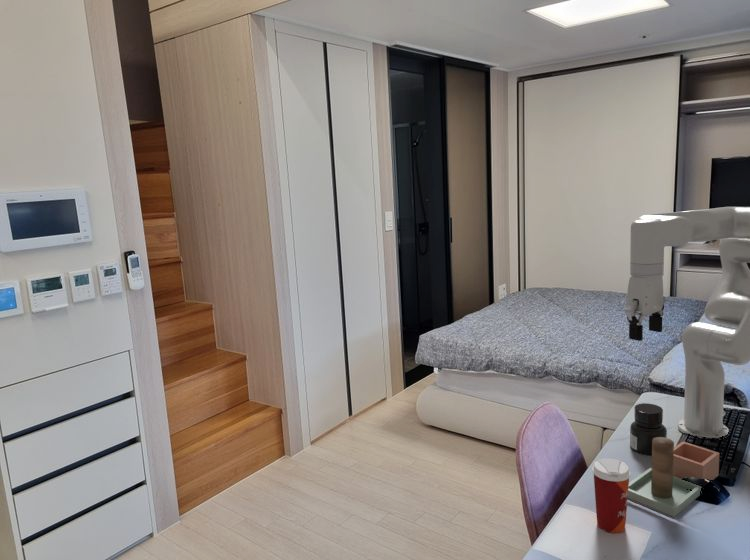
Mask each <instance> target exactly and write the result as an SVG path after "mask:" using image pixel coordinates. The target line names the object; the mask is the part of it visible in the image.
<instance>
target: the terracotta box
mask: <svg viewBox="0 0 750 560" xmlns="http://www.w3.org/2000/svg"><path fill="white" fill-rule="evenodd" d="M719 472H720V452H718V451H714V450H713V449H712V450H711V449H708V448H705V447H703V446H698V445H696V444H692V443H689V442H686V441H681V442H680V443H678V444H676V445H674V457H673V476H674V477H677V478H680V479H683V478H685V477H694V478H701V479H709V480H713V481H714V480H715V479H716V478H718V476H719V475H720V474H719Z"/></svg>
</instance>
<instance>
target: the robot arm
mask: <svg viewBox="0 0 750 560" xmlns="http://www.w3.org/2000/svg"><path fill="white" fill-rule="evenodd" d="M716 240H720V241H719V243H718V244H719V245H718V250H719V256H720V263H721V271H722V272H721V276H720V279H719V281H718V283H717V285H716V287H715V288H714V290H713V291H712V293H711V295H710V296H709V299H708V301H707V302H706V304H705V307H704V316H705V318H706V320H708V321H710V322H707V321H706V322H705V321H704V322H703V321H696V322H695V321H694V322H692V323H690V324H688V325H687V326H685V328H684V330H683V331H682V335H681V337H682V339H681V341H682V348H683V352H684V362H685V365H684V366H685V375H684V403H683V405H684V407H683V408H684V409H683V410H684V412H683V416H684V417H683V418H682V419H681V420H679V421H678V422H677V429H678V430H679V432H681V433H682V434H684V433H687V434H690V435H693V436H697V437H706V438H719V437H722V436H725V435H727V434H728V432H729V433H730V429H729V428H728V427H727V426H726V425H725V424H724V423H723V420H724V416H725V415H726V411H725V410H724V397H725V379H726V378H725V376H726V375H725V371H724V367H723V365H722V363H727V364H730V365H735V366H743V365H746V364H748V363H750V268H749V265H748V264H750V206H724V207H723V206H722V207H715V208H706V209H695V210H694V209H693V210H685V211H675V212H674V211H673V212H661V213H660V212H659V213H652V214H644V215H641V216H639V217H638V218H637V219H636V220H634V221H633V222H632V223H631V225H630V249H629V250H630V252H629V253H630V256H629V257H630V258H629V259H630V260H629V261H630V263H629V265H630V266H629V267H630V268H629V270H630V272H629V275H630V276H629V280H628V284H627V285H628V286H627V294H626V309H625V314H626V319H627V323H628V338H629V339H630V340H633V341H639V342H641V341H643V337H644V336H643V335H644V334H643V331H644V330H643V328H644V325H642V323H643V320H644V317H647V316H648V330H649V331H650V332H657V333H662V332H663V317H664V309H665V302H666V297H665V295H664V282H663V276H664V274H665V273H664V270H665V269H664V266H665V264H664V263H665V262H664V261H665V260H664V259H665V247H682V246H684V245H686V244H688V243H704V242H705V243H706V242H710V241H716ZM637 317H638V318H637ZM721 362H722V363H721ZM728 435H729V434H728Z"/></svg>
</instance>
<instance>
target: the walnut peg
mask: <svg viewBox="0 0 750 560" xmlns="http://www.w3.org/2000/svg"><path fill="white" fill-rule="evenodd" d="M674 447H675V442H674V441H673V440H672V439H671V438H668V437H667V438H664V437H656V438H653V440H652V456H651V468H652V477H651V493H652V494H653V495H654V496H656V497H658V498H663V499H667V498H671V497H672V489H673V457H674Z"/></svg>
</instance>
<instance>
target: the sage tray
mask: <svg viewBox="0 0 750 560" xmlns="http://www.w3.org/2000/svg"><path fill="white" fill-rule="evenodd" d="M651 477H652V467H649V468H647V469H646V470H645V471H644V472H642V473H640V474H639V475H638V476H636V477H635V478H633V479H632V480H631V481H629V486H628V499H627V501H630V502H632V503H635V504H637V505H639V506H642V507H644V508H647V509H650V510H652V511H654V512H656V513H659V514H660V515H663V516H666V517H668V518H670V519H672V520H675V517H676V516H677V515H678V514H680V513H681V512H682V511H683V510H684V509H686V508H687V507H688V506H689V505H690V504H691V503H693V502H694V501H695V500H696V499H698V498H699V497H700V496H701V495H700V491H701V488H702V487H701V486H699V485H696V484H693V483H691V482H688V481H685V480H682V479H680V478H677V477H674V476H673V489H672V497H671V498H667V499H663V498H658V497H656V496H654V495H653V494H652V493H651ZM687 489H688V490H687ZM690 489H691V490H692V491H690ZM701 492H702V491H701Z"/></svg>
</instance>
